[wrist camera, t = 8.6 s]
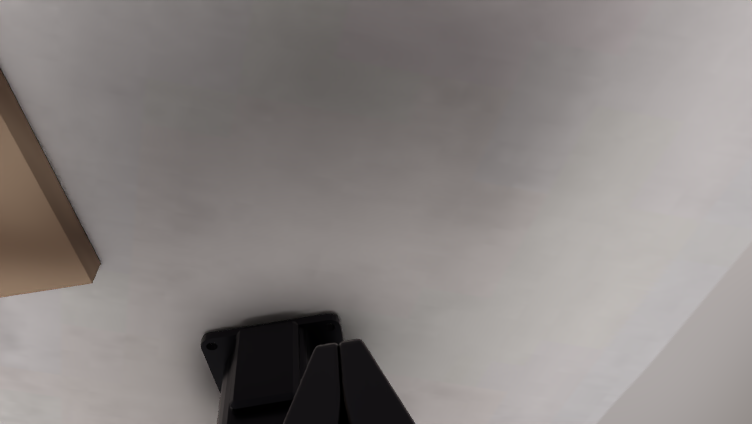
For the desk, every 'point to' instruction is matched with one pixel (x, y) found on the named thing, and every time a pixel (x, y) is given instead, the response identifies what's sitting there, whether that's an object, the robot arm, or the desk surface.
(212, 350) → the robot arm
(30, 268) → the brown wooden board
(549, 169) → the desk surface
